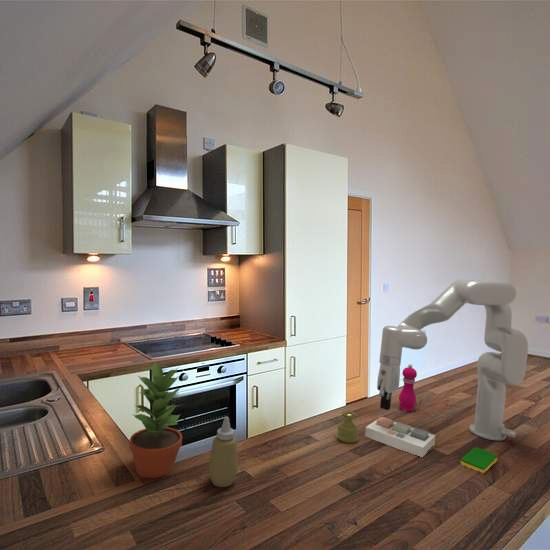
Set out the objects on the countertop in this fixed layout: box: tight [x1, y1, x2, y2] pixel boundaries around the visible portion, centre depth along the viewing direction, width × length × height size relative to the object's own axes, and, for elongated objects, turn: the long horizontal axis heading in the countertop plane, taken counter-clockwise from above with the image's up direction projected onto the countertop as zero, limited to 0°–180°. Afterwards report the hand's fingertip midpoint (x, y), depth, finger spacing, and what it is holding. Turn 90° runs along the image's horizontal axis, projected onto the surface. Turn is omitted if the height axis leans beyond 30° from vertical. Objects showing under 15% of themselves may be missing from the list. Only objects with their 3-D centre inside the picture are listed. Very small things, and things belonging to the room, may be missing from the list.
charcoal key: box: [411, 427, 430, 441], centre depth 138 cm, size 5×5×3 cm
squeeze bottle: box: [208, 416, 239, 488], centre depth 108 cm, size 8×8×18 cm
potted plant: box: [128, 360, 183, 479], centre depth 112 cm, size 15×15×30 cm
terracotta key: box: [376, 416, 395, 429], centre depth 146 cm, size 5×5×3 cm
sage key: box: [393, 422, 411, 435], centre depth 142 cm, size 5×5×3 cm
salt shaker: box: [336, 409, 360, 444], centre depth 140 cm, size 7×7×10 cm
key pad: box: [364, 419, 436, 458], centre depth 141 cm, size 21×13×4 cm, turn 51°
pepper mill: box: [398, 363, 418, 412], centre depth 173 cm, size 7×7×20 cm
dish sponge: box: [460, 446, 498, 473], centre depth 129 cm, size 7×14×2 cm, turn 135°
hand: (384, 408), depth 146 cm, fingers closed
